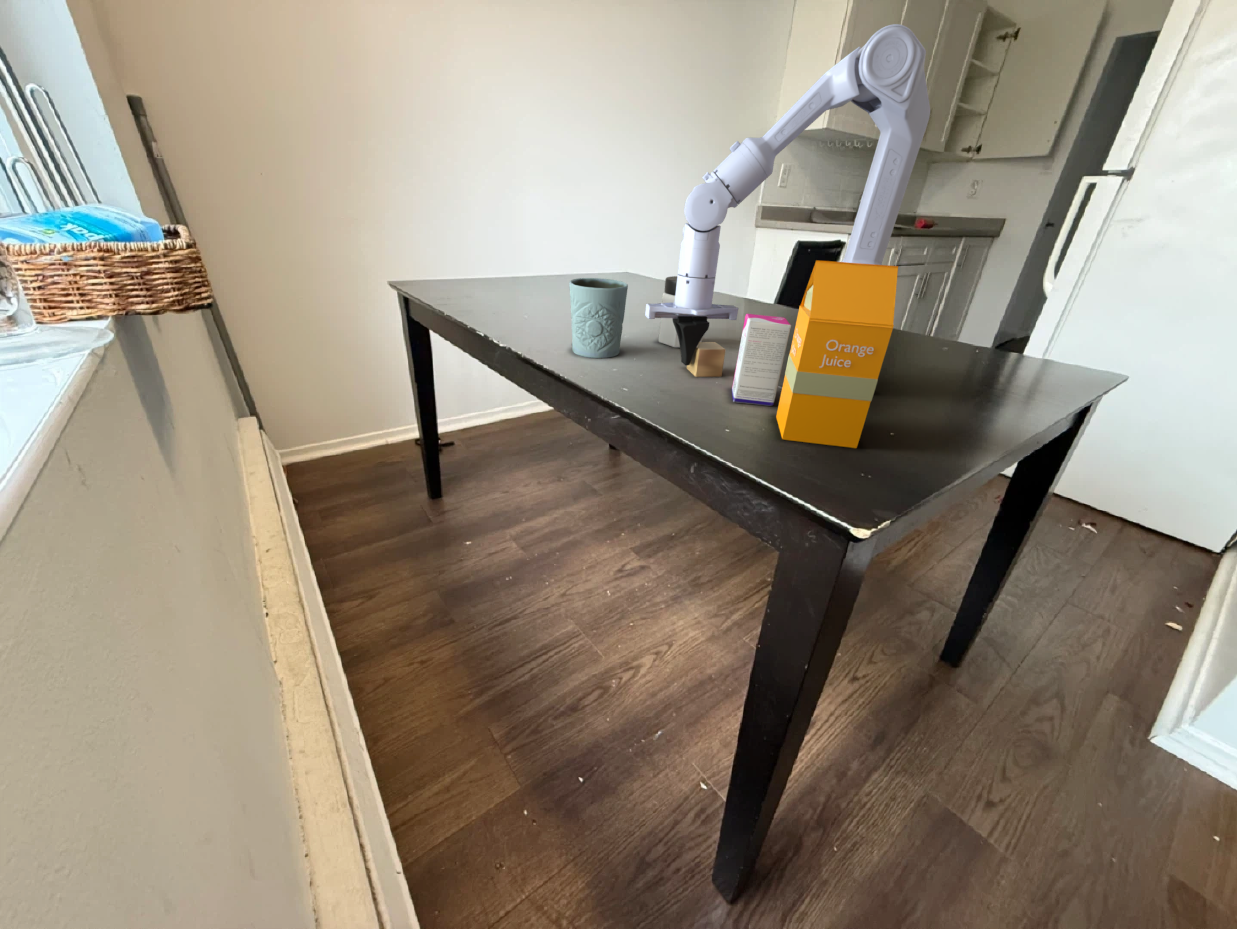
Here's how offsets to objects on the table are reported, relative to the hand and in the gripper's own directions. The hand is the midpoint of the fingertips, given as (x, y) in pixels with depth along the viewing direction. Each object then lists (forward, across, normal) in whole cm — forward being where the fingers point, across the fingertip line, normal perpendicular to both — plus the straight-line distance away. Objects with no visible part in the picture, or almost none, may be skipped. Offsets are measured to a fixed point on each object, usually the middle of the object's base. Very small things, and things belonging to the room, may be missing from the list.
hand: (685, 363), depth 83 cm
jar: (+2, +6, +19) cm, 20 cm away
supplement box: (+2, +6, -12) cm, 14 cm away
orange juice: (+2, +9, -24) cm, 26 cm away
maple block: (+2, +3, 0) cm, 4 cm away
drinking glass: (+2, -12, +13) cm, 18 cm away
